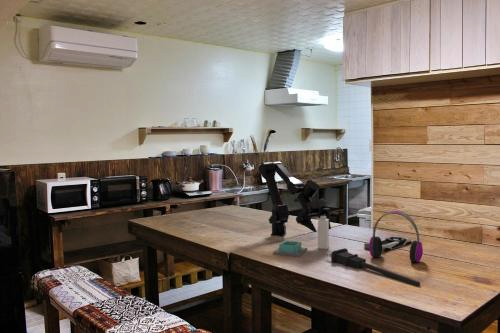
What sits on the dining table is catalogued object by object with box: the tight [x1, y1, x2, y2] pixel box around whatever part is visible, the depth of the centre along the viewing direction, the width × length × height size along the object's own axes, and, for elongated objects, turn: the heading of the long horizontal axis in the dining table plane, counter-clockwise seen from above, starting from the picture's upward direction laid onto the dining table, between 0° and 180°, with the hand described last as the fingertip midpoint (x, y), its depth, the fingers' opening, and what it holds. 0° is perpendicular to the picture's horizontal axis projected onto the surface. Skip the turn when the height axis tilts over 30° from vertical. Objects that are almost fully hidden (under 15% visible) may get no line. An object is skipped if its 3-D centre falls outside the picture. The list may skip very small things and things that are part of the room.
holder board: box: [272, 240, 308, 258], centre depth 188 cm, size 12×12×4 cm
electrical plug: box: [325, 248, 421, 287], centre depth 161 cm, size 9×42×5 cm, turn 34°
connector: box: [317, 216, 330, 250], centre depth 194 cm, size 4×4×14 cm
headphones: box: [368, 210, 424, 264], centre depth 174 cm, size 21×9×20 cm, turn 59°
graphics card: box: [363, 235, 413, 254], centre depth 195 cm, size 10×3×25 cm
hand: (323, 230), depth 194 cm, fingers open, 9 cm apart
